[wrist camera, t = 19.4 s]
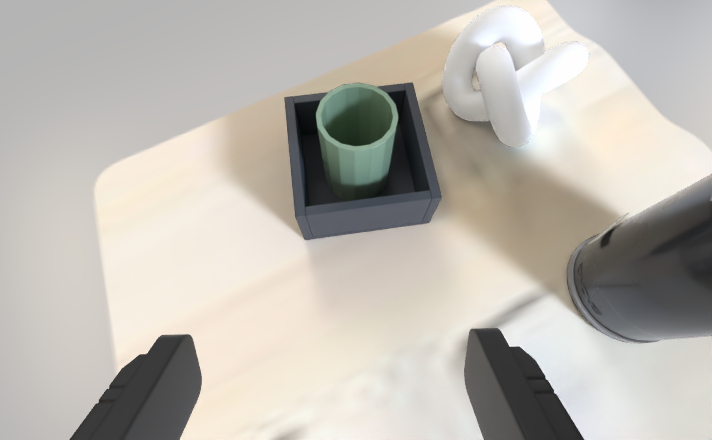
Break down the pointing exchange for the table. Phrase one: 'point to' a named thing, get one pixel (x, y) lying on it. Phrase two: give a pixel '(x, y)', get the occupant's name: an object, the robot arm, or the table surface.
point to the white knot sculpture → (507, 72)
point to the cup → (357, 139)
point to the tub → (387, 210)
